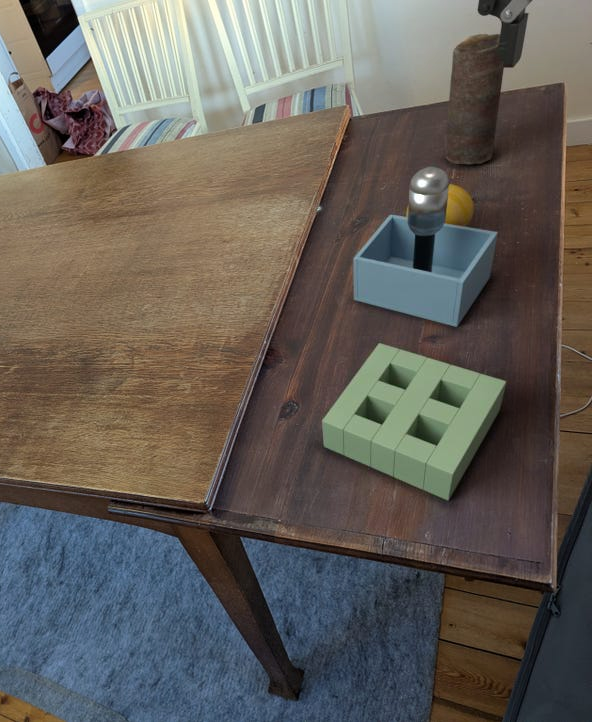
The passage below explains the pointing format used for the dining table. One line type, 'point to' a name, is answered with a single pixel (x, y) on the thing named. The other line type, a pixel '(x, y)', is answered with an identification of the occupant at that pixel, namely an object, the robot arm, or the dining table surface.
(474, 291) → the tub
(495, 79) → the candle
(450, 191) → the fruit
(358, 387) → the rack
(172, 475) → the dining table surface
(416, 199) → the microphone
